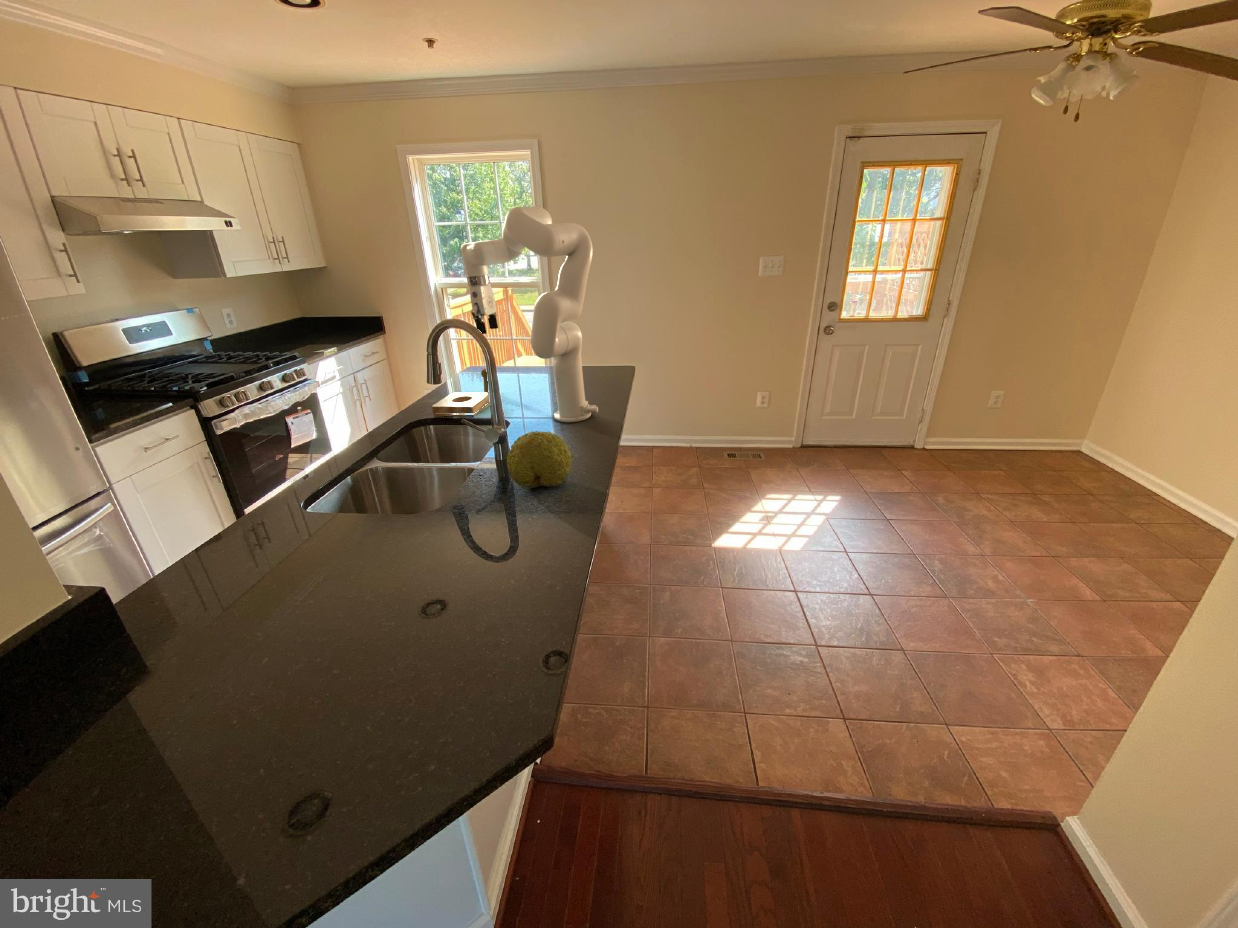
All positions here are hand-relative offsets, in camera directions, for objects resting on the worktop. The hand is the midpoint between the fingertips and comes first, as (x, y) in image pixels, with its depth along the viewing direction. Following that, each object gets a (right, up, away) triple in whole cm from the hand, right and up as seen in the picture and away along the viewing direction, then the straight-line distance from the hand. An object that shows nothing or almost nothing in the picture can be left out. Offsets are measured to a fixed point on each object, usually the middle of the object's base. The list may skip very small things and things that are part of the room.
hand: (488, 331), depth 180 cm
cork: (-3, -21, +18) cm, 28 cm away
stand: (-10, -28, +5) cm, 30 cm away
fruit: (+28, -53, -53) cm, 80 cm away
